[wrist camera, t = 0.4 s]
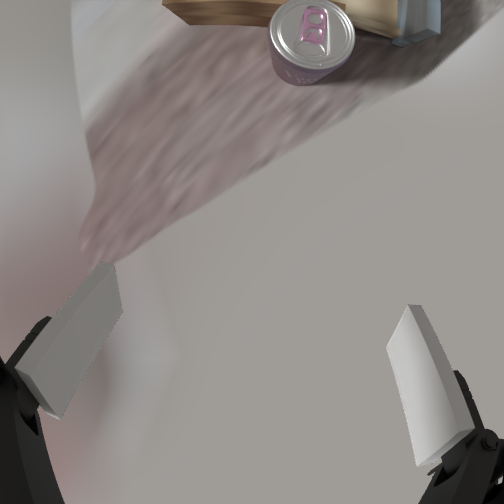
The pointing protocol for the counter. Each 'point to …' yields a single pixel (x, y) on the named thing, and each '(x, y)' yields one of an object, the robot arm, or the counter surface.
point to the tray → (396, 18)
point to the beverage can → (309, 40)
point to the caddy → (227, 11)
